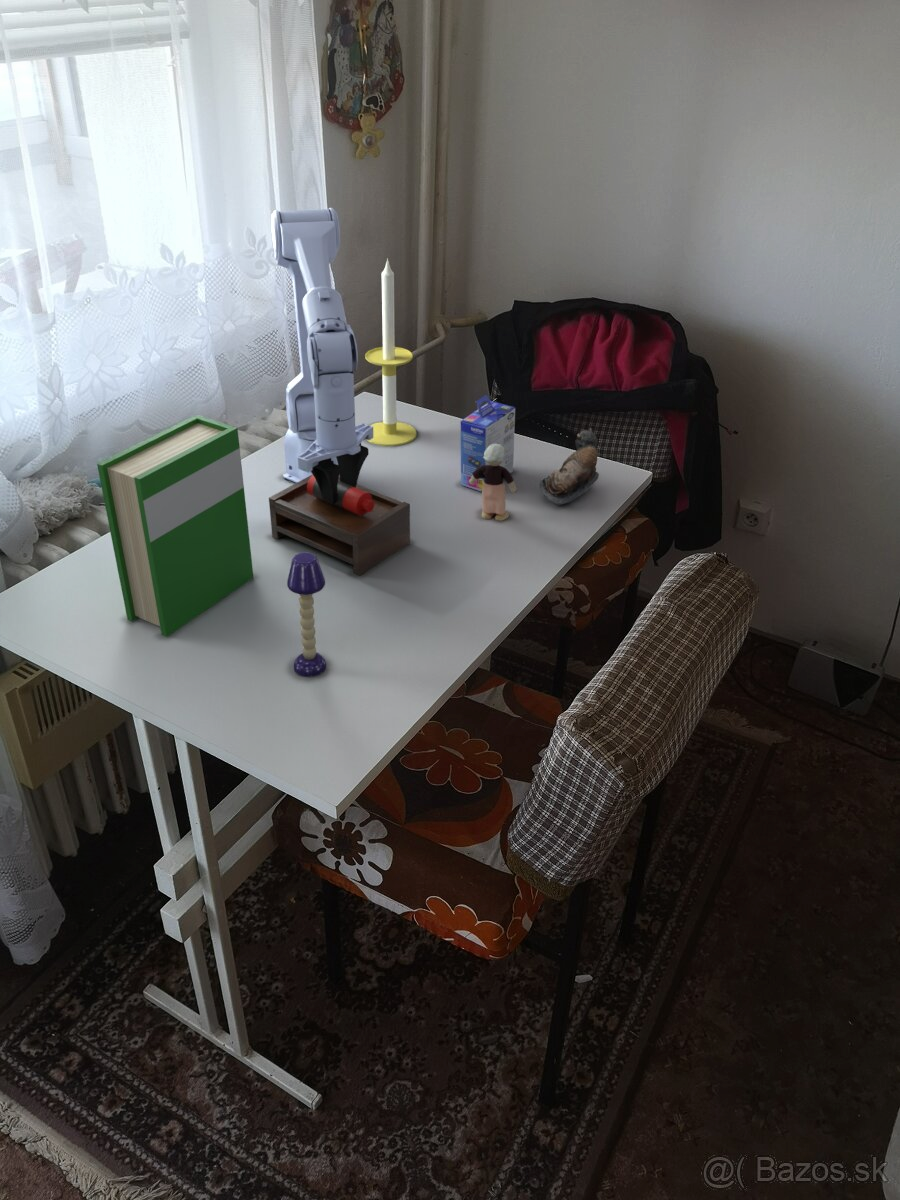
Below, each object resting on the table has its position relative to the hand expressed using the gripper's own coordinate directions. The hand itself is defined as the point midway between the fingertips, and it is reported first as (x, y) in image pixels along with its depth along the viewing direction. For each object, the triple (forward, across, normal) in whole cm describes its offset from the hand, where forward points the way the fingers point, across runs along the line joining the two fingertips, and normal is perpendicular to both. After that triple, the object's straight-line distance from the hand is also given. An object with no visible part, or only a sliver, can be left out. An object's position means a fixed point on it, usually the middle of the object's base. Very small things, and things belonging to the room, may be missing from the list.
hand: (338, 496), depth 156 cm
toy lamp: (+8, -26, -18) cm, 33 cm away
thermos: (+1, 0, 0) cm, 1 cm away
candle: (+8, +34, +18) cm, 39 cm away
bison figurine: (+8, +35, -20) cm, 41 cm away
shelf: (+8, 0, 0) cm, 8 cm away
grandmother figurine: (+8, +21, -14) cm, 26 cm away
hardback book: (+8, -25, +6) cm, 27 cm away
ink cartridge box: (+8, +31, -6) cm, 33 cm away
